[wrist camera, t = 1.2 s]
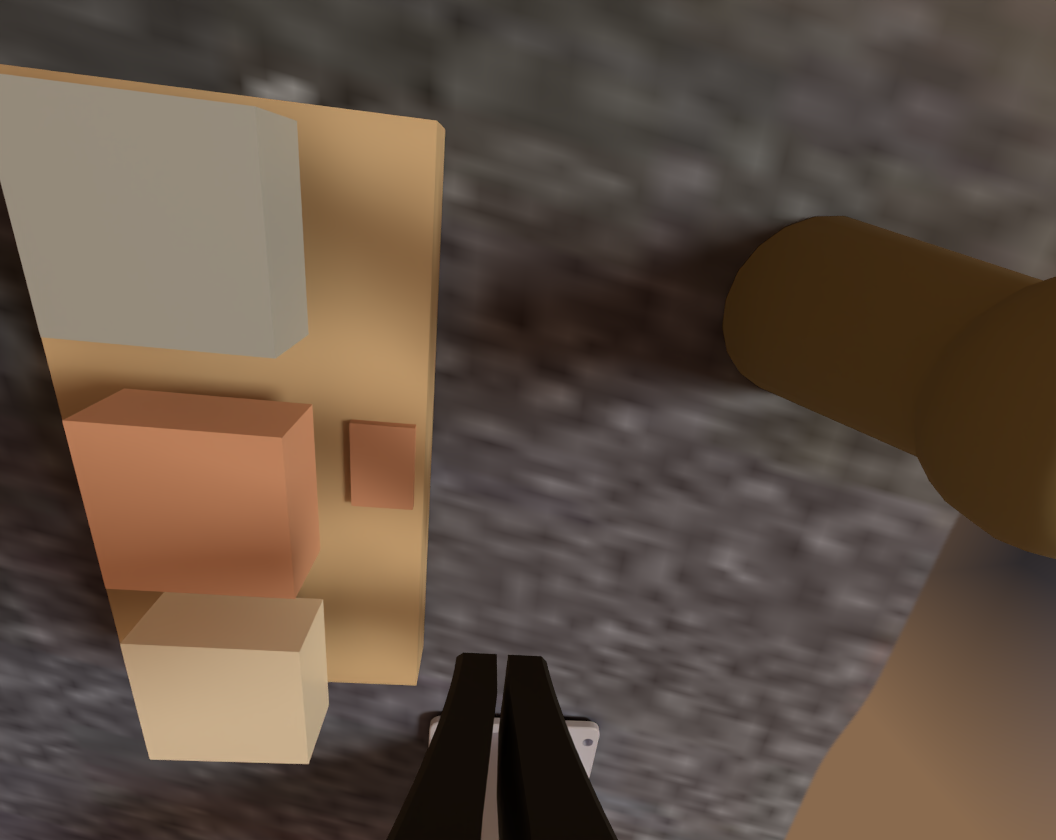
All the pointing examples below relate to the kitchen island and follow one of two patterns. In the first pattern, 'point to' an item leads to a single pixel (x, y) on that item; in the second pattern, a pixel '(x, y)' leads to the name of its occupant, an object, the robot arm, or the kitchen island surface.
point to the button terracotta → (198, 492)
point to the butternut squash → (912, 360)
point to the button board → (330, 371)
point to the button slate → (155, 217)
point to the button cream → (229, 677)
